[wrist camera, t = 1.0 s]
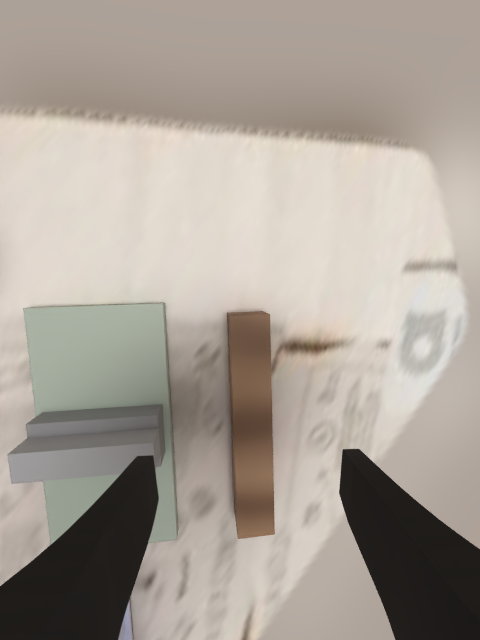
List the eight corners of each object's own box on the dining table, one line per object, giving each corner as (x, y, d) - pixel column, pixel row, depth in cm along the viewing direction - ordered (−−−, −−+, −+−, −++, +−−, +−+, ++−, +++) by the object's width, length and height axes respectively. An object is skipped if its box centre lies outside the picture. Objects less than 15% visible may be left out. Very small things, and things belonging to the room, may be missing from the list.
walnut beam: (267, 506, 26) (274, 534, 23) (234, 510, 26) (238, 538, 23) (262, 311, 24) (269, 314, 21) (226, 312, 24) (229, 316, 21)
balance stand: (178, 529, 25) (170, 588, 20) (58, 543, 24) (19, 608, 19) (164, 302, 23) (152, 307, 18) (31, 307, 22) (-20, 313, 17)
